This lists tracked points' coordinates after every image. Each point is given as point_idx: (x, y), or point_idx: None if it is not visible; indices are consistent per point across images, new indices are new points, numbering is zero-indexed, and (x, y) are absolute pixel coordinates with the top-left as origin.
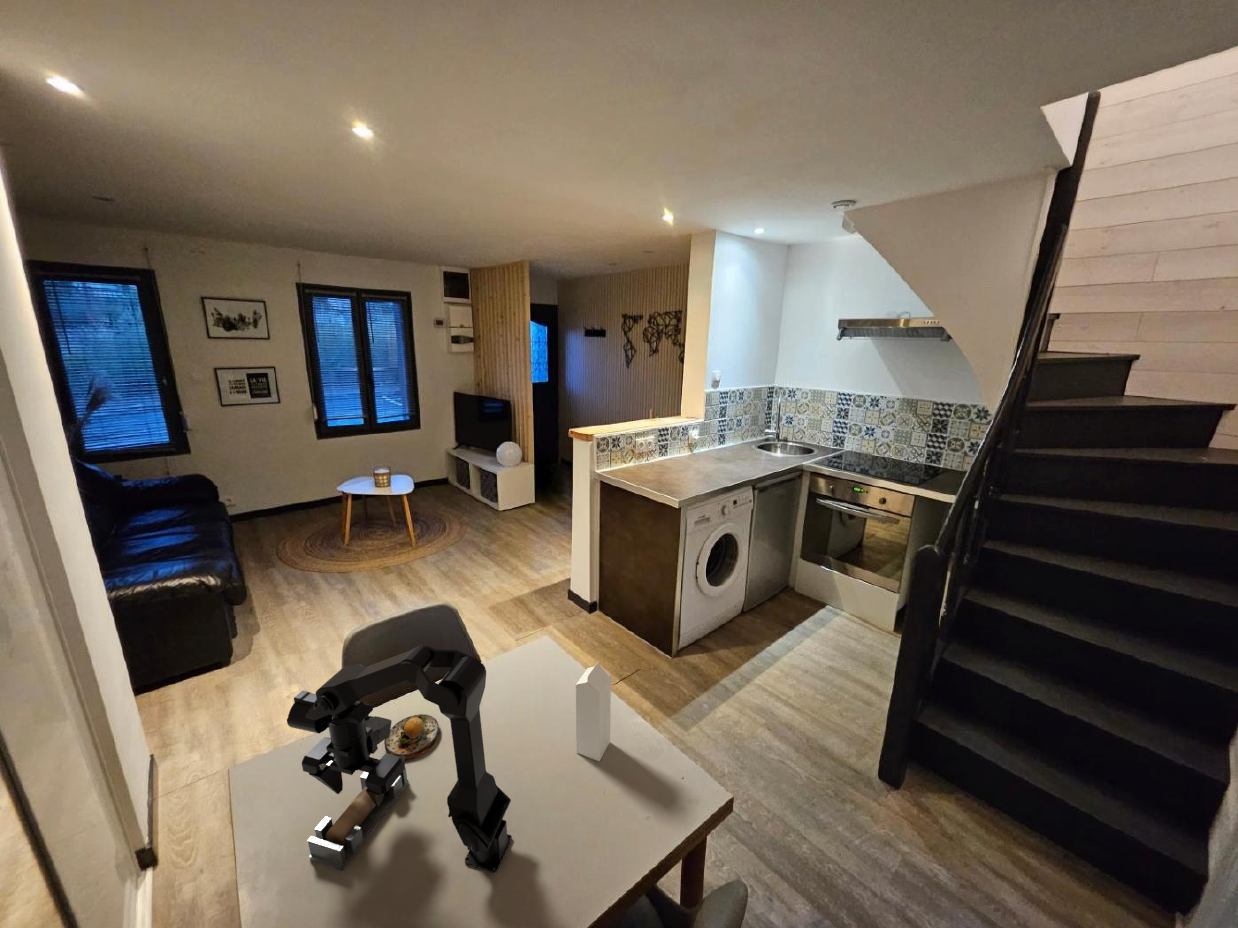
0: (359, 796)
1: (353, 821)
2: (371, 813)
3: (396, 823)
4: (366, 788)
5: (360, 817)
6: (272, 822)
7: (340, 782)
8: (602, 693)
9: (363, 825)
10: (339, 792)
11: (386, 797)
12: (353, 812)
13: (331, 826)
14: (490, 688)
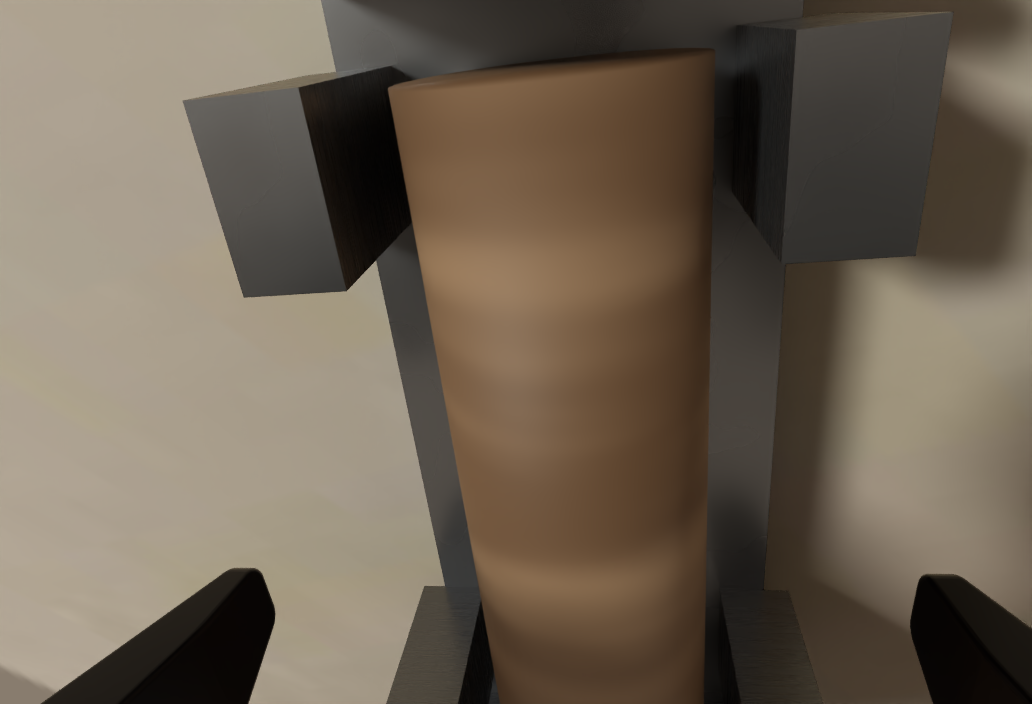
0: (532, 543)
1: (686, 697)
2: None
3: (962, 345)
4: (525, 441)
5: (701, 617)
6: (13, 579)
7: (182, 689)
8: None
9: None
10: (268, 608)
11: None
12: (635, 688)
13: (472, 669)
14: None
